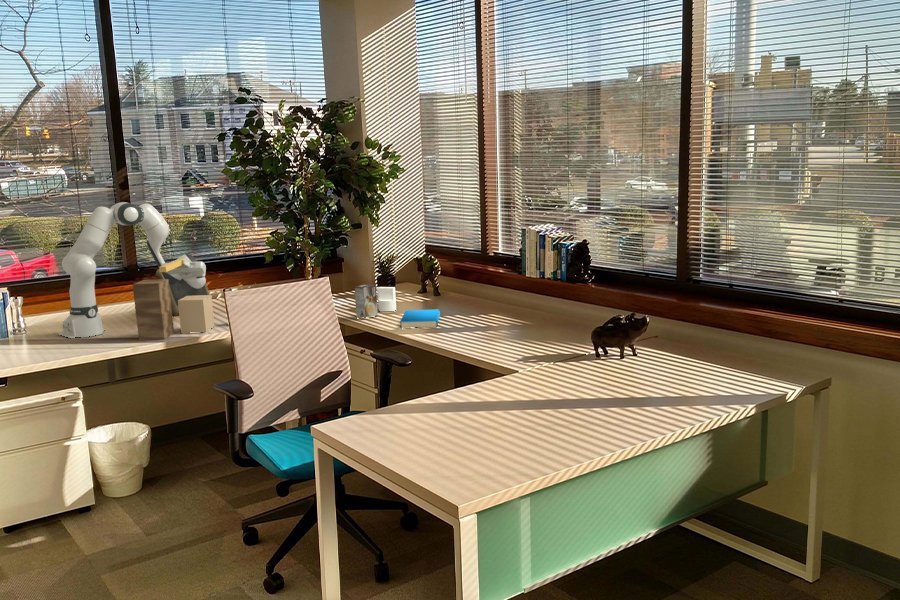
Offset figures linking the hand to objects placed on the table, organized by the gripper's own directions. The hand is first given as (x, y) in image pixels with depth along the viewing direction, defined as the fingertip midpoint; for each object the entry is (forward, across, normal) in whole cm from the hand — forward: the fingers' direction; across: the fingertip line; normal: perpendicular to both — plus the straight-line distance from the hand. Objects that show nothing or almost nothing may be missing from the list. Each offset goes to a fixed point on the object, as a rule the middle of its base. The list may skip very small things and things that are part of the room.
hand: (178, 261), depth 406 cm
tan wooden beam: (+5, 0, +5) cm, 7 cm away
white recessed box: (-37, +97, +17) cm, 105 cm away
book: (-11, +116, +32) cm, 121 cm away
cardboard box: (-8, +10, +33) cm, 35 cm away
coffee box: (-23, +88, +24) cm, 95 cm away
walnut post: (+2, -6, +38) cm, 38 cm away
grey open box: (-54, -15, +7) cm, 57 cm away
